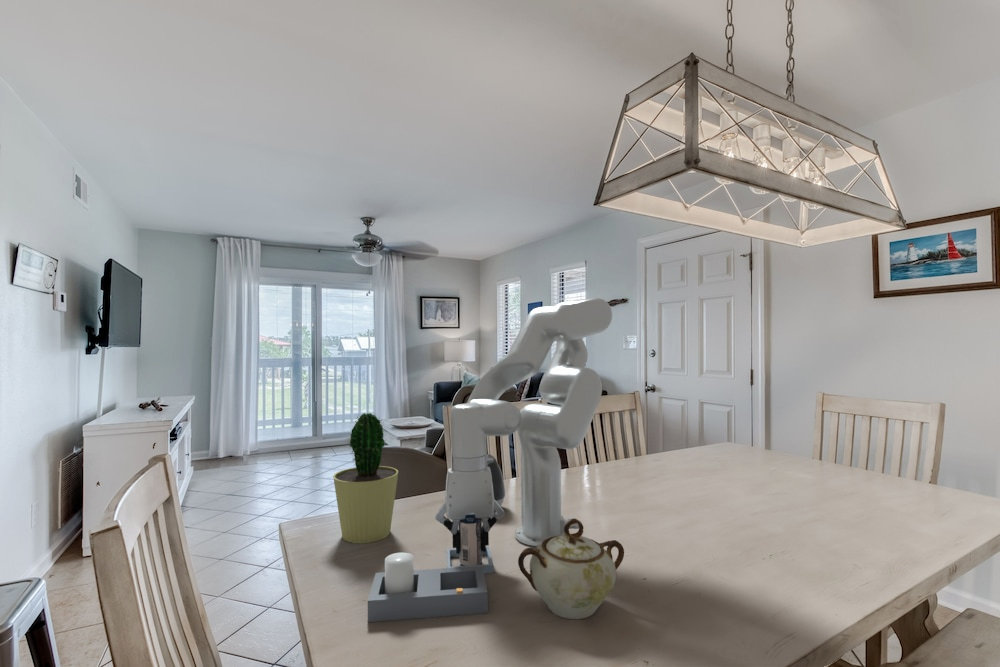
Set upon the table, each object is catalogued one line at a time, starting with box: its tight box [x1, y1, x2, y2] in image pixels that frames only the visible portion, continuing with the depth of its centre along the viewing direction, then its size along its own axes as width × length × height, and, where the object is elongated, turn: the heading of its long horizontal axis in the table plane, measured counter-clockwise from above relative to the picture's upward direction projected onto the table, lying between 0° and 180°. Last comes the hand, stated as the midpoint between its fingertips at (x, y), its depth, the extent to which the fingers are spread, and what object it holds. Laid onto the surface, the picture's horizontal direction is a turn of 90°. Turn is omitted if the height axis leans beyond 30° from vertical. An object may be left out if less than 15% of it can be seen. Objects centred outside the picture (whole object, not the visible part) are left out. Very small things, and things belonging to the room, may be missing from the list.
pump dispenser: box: [487, 453, 506, 507], centre depth 136 cm, size 10×10×15 cm
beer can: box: [458, 513, 483, 566], centre depth 102 cm, size 5×5×12 cm
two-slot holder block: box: [367, 552, 489, 623], centre depth 86 cm, size 20×10×8 cm, turn 97°
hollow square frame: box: [446, 546, 494, 574], centre depth 101 cm, size 9×9×2 cm
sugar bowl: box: [517, 518, 625, 620], centre depth 85 cm, size 20×15×15 cm
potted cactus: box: [332, 412, 399, 544], centre depth 118 cm, size 15×15×30 cm
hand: (470, 549), depth 102 cm, fingers closed on beer can, 4 cm apart
